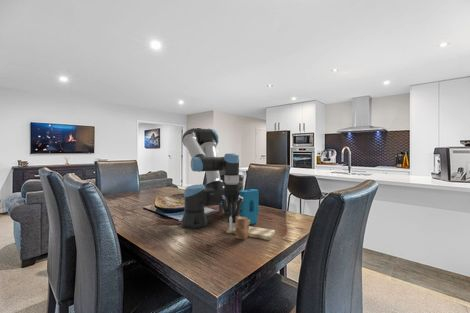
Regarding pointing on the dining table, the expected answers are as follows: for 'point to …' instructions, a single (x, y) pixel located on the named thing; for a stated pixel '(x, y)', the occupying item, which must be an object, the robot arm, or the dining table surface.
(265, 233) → the board
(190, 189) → the robot arm
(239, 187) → the planter
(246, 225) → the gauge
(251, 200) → the block
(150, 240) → the dining table surface
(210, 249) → the dining table surface
